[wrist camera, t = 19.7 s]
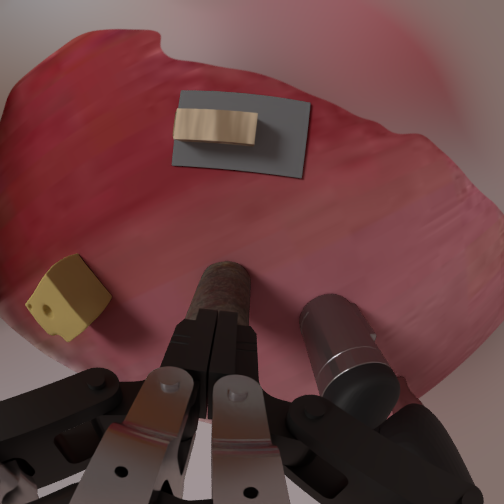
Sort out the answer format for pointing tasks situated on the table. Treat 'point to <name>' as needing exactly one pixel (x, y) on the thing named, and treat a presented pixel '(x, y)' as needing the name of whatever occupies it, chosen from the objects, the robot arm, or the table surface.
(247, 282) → the brown rough cylinder
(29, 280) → the table surface
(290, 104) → the mat
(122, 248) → the table surface
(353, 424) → the robot arm
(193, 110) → the block
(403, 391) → the beer glass
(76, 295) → the cheese
